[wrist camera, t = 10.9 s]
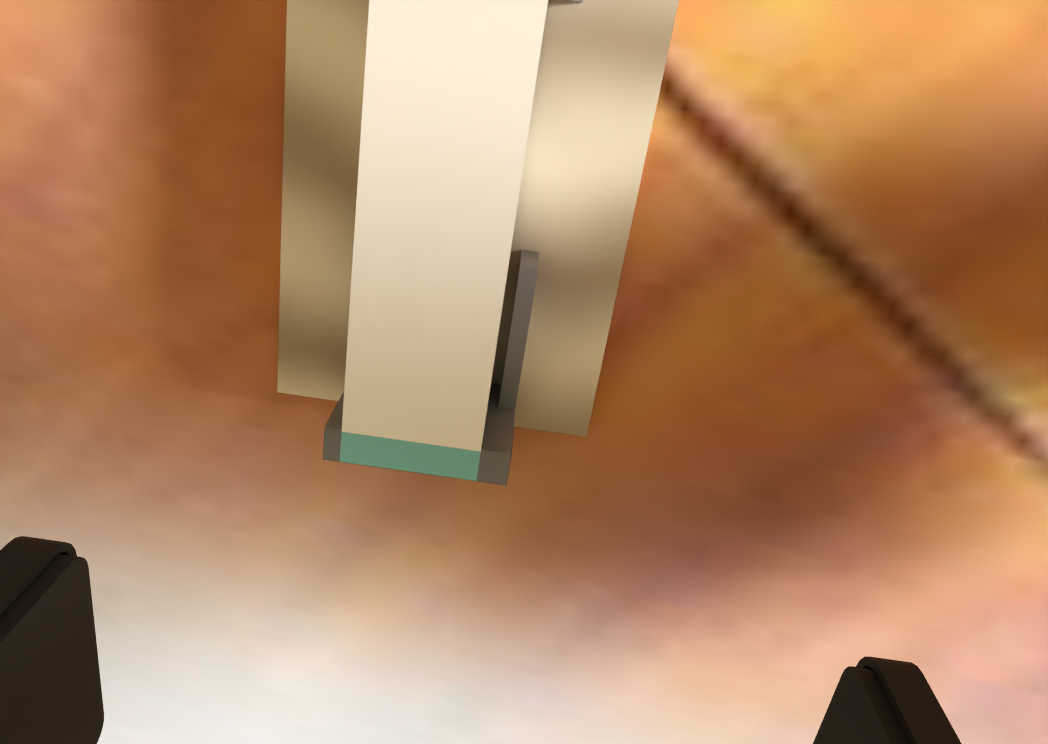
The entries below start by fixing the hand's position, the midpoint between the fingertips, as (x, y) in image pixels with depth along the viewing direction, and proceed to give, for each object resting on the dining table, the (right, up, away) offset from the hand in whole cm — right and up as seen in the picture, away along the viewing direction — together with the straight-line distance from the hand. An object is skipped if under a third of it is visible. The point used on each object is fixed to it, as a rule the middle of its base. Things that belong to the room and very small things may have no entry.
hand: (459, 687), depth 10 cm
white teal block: (-1, +11, +17) cm, 20 cm away
